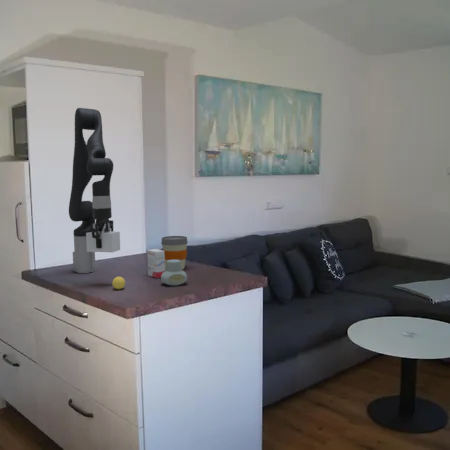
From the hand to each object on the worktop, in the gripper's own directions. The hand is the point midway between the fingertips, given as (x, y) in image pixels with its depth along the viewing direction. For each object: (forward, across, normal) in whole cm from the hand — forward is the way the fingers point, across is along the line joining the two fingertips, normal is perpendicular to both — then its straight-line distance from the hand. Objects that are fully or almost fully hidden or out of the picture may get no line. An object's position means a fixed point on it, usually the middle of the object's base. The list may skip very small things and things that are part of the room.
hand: (103, 246), depth 211 cm
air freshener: (+16, -8, +28) cm, 33 cm away
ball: (+14, +6, +10) cm, 18 cm away
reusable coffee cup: (+16, -38, +16) cm, 44 cm away
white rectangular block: (+2, 0, 0) cm, 2 cm away
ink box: (+16, -20, +14) cm, 30 cm away
